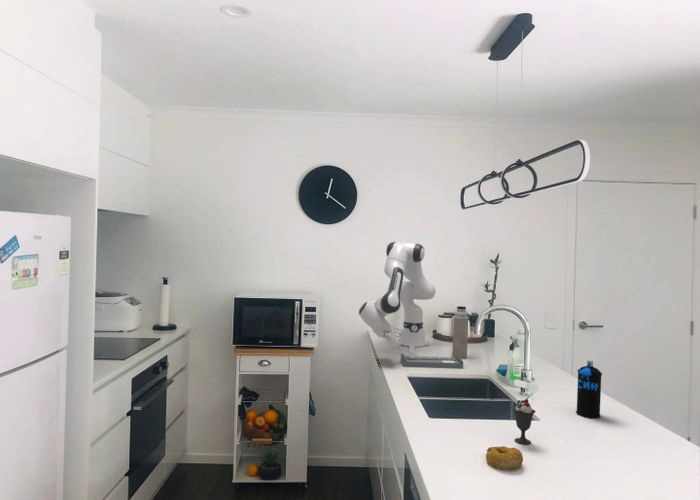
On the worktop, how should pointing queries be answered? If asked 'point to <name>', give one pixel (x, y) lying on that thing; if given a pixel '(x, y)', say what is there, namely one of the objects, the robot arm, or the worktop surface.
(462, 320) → the thermos bottle
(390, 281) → the robot arm
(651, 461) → the worktop surface
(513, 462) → the bagel
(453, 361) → the console
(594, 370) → the aerosol can
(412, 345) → the fader knob
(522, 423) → the sundae
